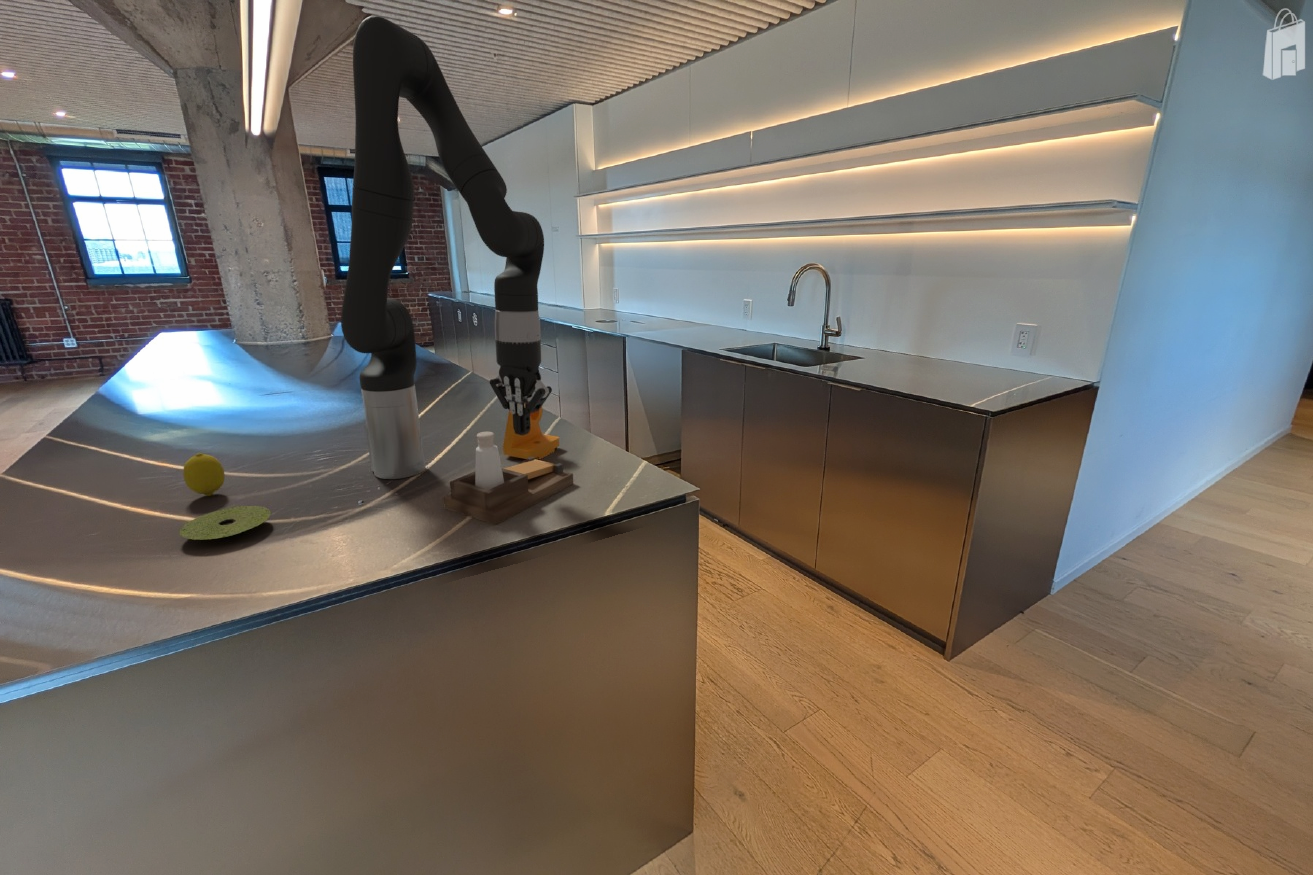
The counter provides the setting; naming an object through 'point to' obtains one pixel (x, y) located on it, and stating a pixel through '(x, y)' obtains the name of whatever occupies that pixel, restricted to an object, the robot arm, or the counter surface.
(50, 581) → the counter surface
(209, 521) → the green abrasive disc
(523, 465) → the tan flat block
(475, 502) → the brown open tray piece
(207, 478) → the lemon
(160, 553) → the counter surface
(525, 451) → the bracket
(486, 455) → the salt shaker
